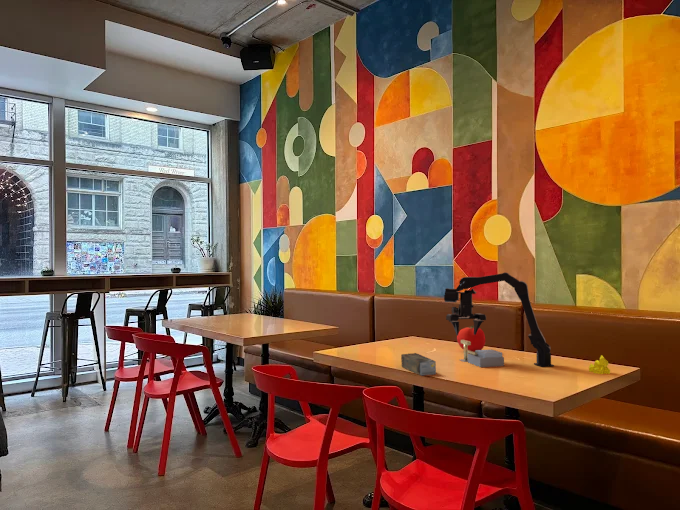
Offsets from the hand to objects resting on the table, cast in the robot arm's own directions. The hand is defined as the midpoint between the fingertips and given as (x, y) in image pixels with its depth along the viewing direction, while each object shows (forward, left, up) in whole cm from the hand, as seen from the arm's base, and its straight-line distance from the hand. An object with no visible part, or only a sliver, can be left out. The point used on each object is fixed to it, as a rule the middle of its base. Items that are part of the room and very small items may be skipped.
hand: (466, 334), depth 251 cm
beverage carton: (-15, +31, -13) cm, 37 cm away
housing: (-7, -4, -12) cm, 15 cm away
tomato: (+22, -14, -13) cm, 28 cm away
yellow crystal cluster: (-39, -43, -13) cm, 59 cm away
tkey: (-3, 0, -12) cm, 12 cm away
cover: (-11, -6, -8) cm, 15 cm away
